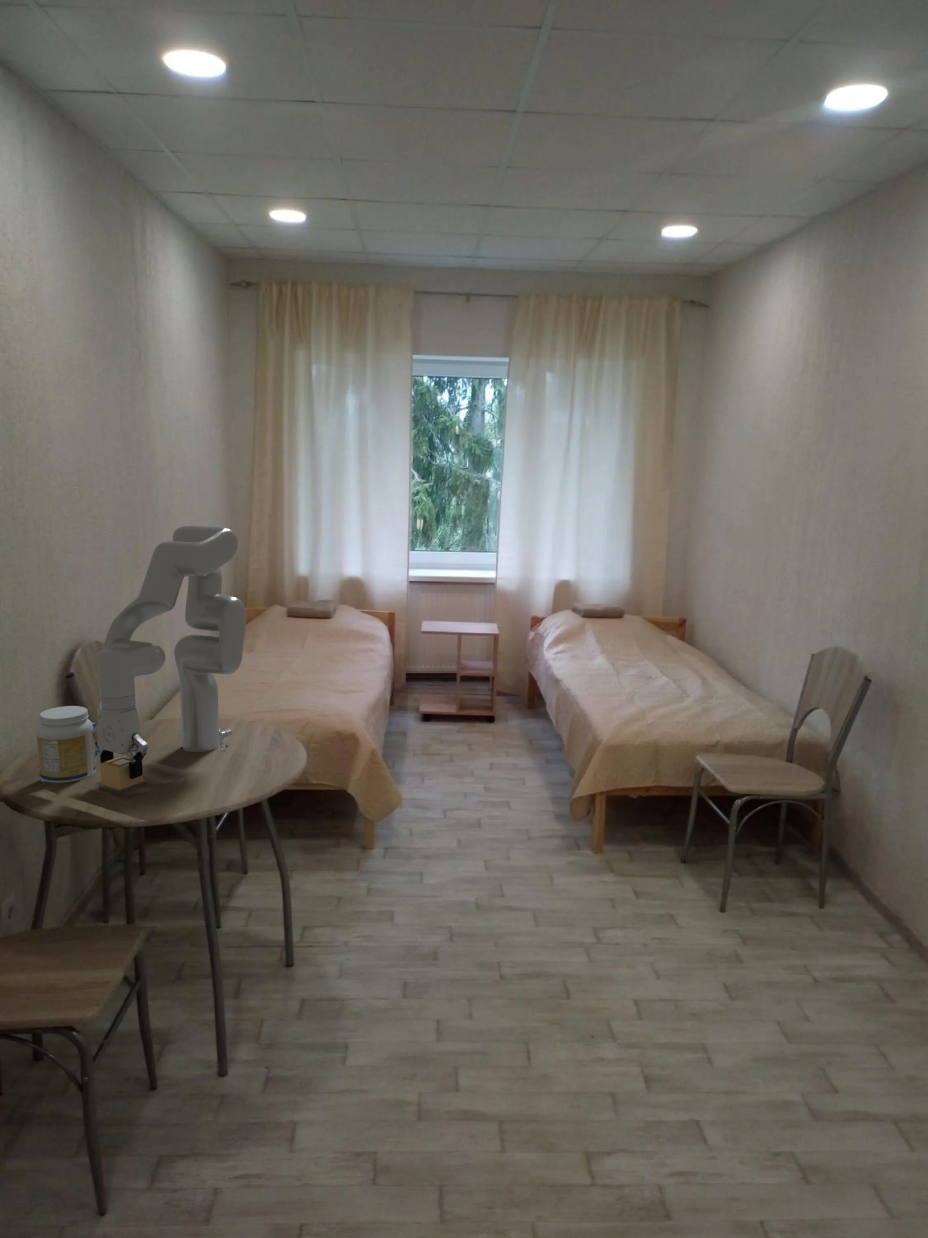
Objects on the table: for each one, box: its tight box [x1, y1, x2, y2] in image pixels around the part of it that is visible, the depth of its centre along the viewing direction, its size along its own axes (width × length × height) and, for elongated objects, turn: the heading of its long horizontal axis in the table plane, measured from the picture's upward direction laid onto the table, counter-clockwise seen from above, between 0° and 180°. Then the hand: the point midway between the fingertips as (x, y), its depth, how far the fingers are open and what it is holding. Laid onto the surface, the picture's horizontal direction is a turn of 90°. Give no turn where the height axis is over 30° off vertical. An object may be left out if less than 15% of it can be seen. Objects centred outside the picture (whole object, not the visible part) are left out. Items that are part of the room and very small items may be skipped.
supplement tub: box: [36, 705, 97, 784], centre depth 198 cm, size 12×12×17 cm
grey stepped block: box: [99, 759, 146, 795], centre depth 191 cm, size 7×7×6 cm
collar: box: [99, 754, 144, 790], centre depth 191 cm, size 6×6×5 cm
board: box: [83, 761, 194, 801], centre depth 196 cm, size 20×14×2 cm
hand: (121, 773), depth 191 cm, fingers open, 9 cm apart
